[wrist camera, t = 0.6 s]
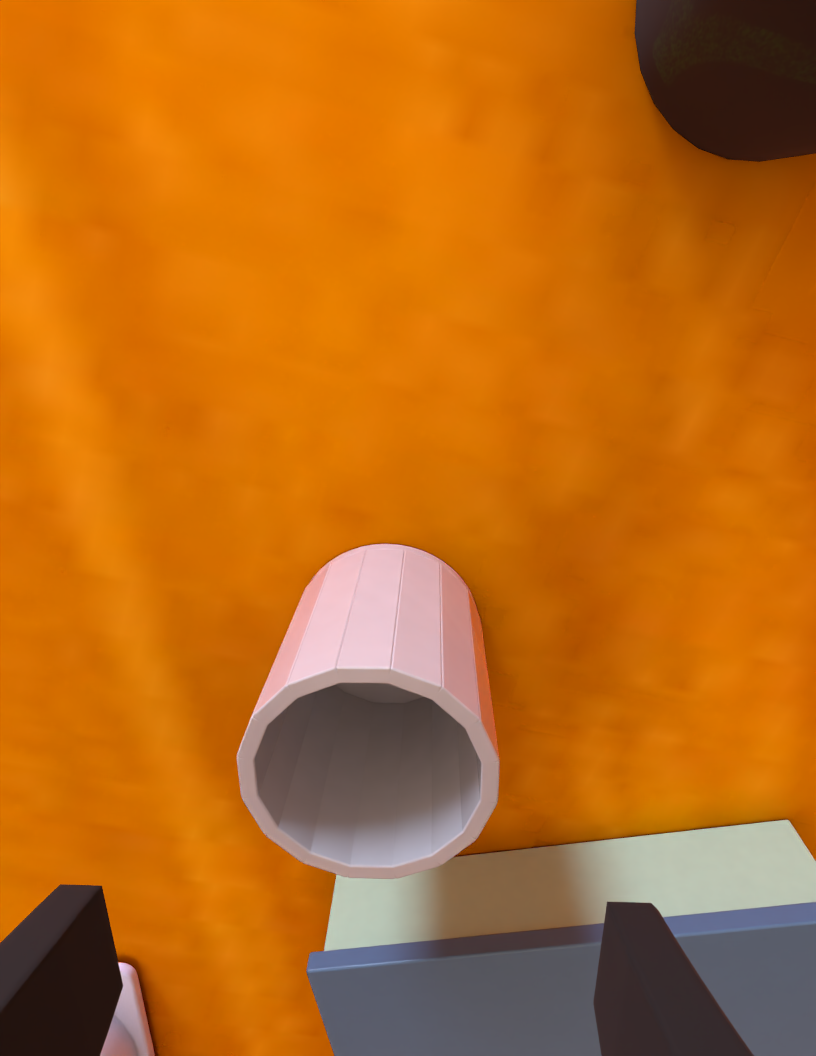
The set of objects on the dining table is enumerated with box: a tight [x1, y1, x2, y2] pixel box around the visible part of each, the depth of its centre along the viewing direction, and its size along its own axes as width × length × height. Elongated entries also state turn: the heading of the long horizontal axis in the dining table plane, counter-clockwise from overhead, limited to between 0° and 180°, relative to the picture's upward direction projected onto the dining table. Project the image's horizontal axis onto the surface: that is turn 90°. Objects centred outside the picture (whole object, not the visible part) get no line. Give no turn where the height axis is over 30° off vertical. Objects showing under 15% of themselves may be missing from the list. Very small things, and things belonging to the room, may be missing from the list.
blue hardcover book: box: [306, 820, 816, 1056], centre depth 21 cm, size 15×12×4 cm
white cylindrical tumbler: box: [237, 544, 500, 879], centre depth 16 cm, size 5×5×6 cm
